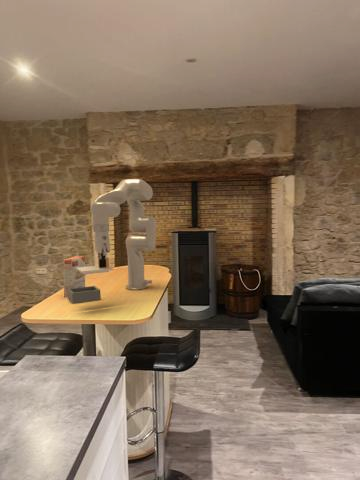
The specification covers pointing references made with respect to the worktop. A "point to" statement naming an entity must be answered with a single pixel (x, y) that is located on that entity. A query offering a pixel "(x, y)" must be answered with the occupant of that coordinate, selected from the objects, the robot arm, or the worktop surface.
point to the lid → (95, 268)
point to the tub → (84, 294)
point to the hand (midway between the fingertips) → (102, 267)
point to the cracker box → (73, 273)
